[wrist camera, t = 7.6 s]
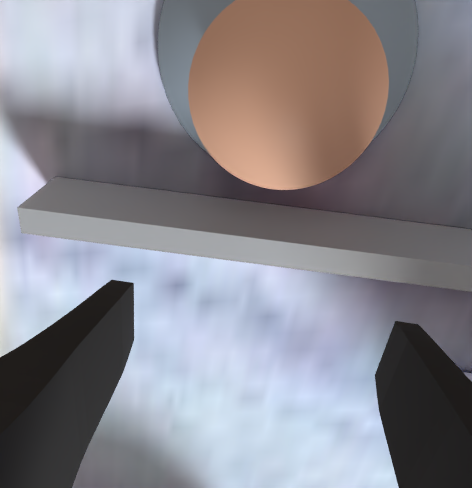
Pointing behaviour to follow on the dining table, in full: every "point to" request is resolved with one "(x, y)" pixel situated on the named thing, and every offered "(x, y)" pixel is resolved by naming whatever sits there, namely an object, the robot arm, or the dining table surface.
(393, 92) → the mat
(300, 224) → the grey long flat bar
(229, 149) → the terracotta cylinder
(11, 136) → the dining table surface
